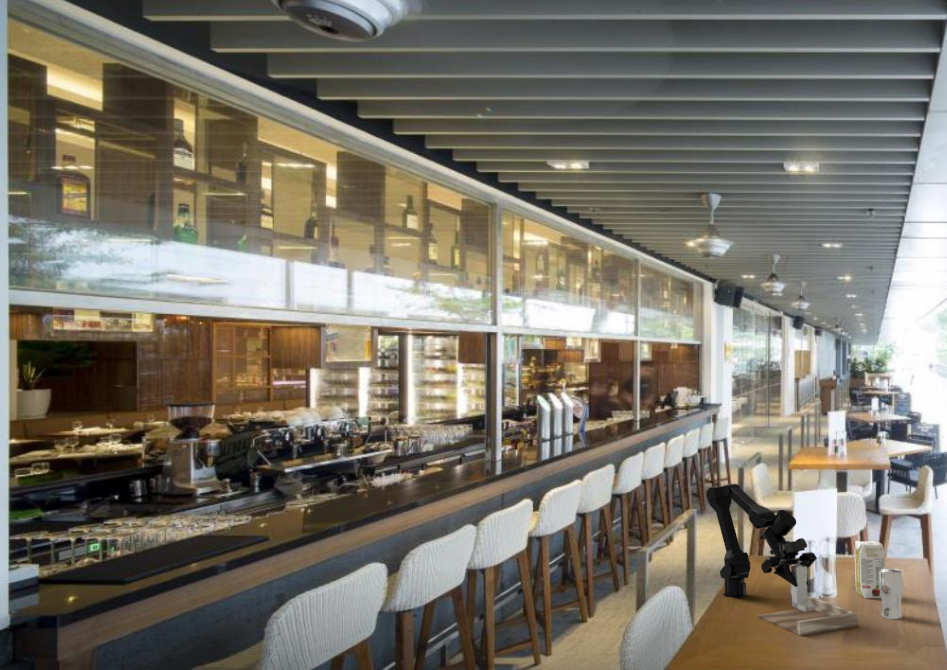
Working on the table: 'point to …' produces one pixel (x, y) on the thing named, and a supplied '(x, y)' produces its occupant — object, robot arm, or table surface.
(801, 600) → the aluminium bracket
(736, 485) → the robot arm
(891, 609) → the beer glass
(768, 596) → the table surface
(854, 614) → the corner board
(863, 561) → the juice carton
